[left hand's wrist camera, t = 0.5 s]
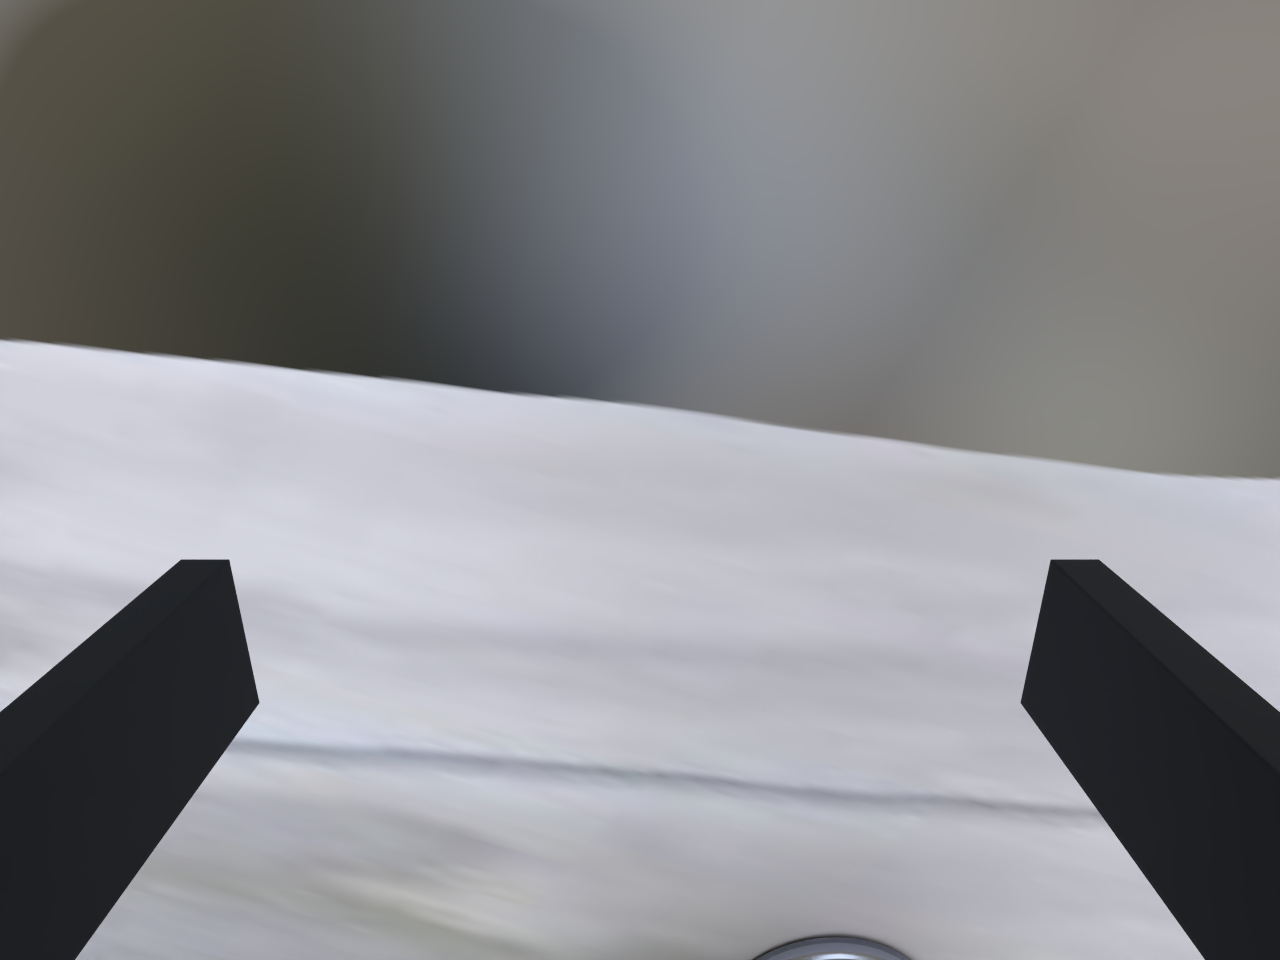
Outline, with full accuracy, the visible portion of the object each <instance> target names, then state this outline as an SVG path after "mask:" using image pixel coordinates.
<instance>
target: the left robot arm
mask: <svg viewBox="0 0 1280 960" xmlns="http://www.w3.org/2000/svg"><path fill="white" fill-rule="evenodd" d="M258 704H259V699H258V694H257V689H256V685H255V680H254V675H253V670H252V666H251V661H250V656H249V652H248V647H247V642H246V637H245V633H244V628H243V623H242V618H241V614H240V609H239V604H238V599H237V595H236V590H235V585H234V580H233V576H232V571H231V566H230V561H229V560H180V561H179V562H178V563H177V564H175V565H174V566H173V567H172V568H171V569H170V570H168V571H167V572H166V573H165V574H164V575H162V576H161V577H160V578H159V579H158V580H156V581H155V582H154V583H153V584H152V585H151V586H149V587H148V588H147V589H146V590H145V591H143V592H142V593H141V594H140V595H139V596H137V597H136V598H135V599H134V600H133V601H132V602H130V603H129V604H128V605H127V606H126V607H124V608H123V609H122V610H121V611H120V612H119V613H117V614H116V615H115V616H114V617H113V618H111V619H110V620H109V621H108V622H107V623H105V624H104V625H103V626H102V627H101V628H100V629H98V630H97V631H96V632H95V633H94V634H92V635H91V636H90V637H89V638H88V639H86V640H85V641H84V642H83V643H82V644H81V645H79V646H78V647H77V648H76V649H75V650H73V651H72V652H71V653H70V654H69V655H68V656H66V657H65V658H64V659H63V660H62V661H60V662H59V663H58V664H57V665H56V666H54V667H53V668H52V669H51V670H50V671H49V672H47V673H46V674H45V675H44V676H43V677H41V678H40V679H39V680H38V681H37V682H36V683H34V684H33V685H32V686H31V687H30V688H28V689H27V690H26V691H25V692H24V693H22V694H21V695H20V696H19V697H18V698H17V699H15V700H14V701H13V702H12V703H11V704H9V705H8V706H7V707H6V708H5V709H3V710H2V711H1V712H0V960H75V959H76V957H77V956H78V955H79V953H80V952H81V950H82V949H83V948H84V946H85V945H86V943H87V942H88V941H89V939H90V938H91V937H92V935H93V934H94V932H95V931H96V930H97V928H98V927H99V925H100V924H101V923H102V921H103V920H104V918H105V917H106V916H107V914H108V913H109V911H110V910H111V909H112V907H113V906H114V905H115V903H116V902H117V900H118V899H119V898H120V896H121V895H122V893H123V892H124V891H125V889H126V888H127V886H128V885H129V884H130V882H131V881H132V879H133V878H134V877H135V875H136V874H137V872H138V871H139V870H140V868H141V867H142V866H143V864H144V863H145V861H146V860H147V859H148V857H149V856H150V854H151V853H152V852H153V850H154V849H155V847H156V846H157V845H158V843H159V842H160V840H161V839H162V838H163V836H164V835H165V833H166V832H167V831H168V829H169V828H170V827H171V825H172V824H173V822H174V821H175V820H176V818H177V817H178V815H179V814H180V813H181V811H182V810H183V808H184V807H185V806H186V804H187V803H188V801H189V800H190V799H191V797H192V796H193V794H194V793H195V792H196V790H197V789H198V788H199V786H200V785H201V783H202V782H203V781H204V779H205V778H206V776H207V775H208V774H209V772H210V771H211V769H212V768H213V767H214V765H215V764H216V762H217V761H218V760H219V758H220V757H221V756H222V754H223V753H224V751H225V750H226V749H227V747H228V746H229V744H230V743H231V742H232V740H233V739H234V737H235V736H236V735H237V733H238V732H239V730H240V729H241V728H242V726H243V725H244V723H245V722H246V721H247V719H248V718H249V717H250V715H251V714H252V712H253V711H254V710H255V708H256V707H257V705H258ZM1021 704H1022V705H1023V707H1024V708H1025V710H1026V711H1027V712H1028V714H1029V715H1030V717H1031V718H1032V719H1033V721H1034V722H1035V723H1036V725H1037V726H1038V728H1039V729H1040V730H1041V732H1042V733H1043V735H1044V736H1045V737H1046V739H1047V740H1048V742H1049V743H1050V744H1051V746H1052V747H1053V749H1054V750H1055V751H1056V753H1057V754H1058V756H1059V757H1060V758H1061V760H1062V761H1063V762H1064V764H1065V765H1066V767H1067V768H1068V769H1069V771H1070V772H1071V774H1072V775H1073V776H1074V778H1075V779H1076V781H1077V782H1078V783H1079V785H1080V786H1081V788H1082V789H1083V790H1084V792H1085V793H1086V794H1087V796H1088V797H1089V799H1090V800H1091V801H1092V803H1093V804H1094V806H1095V807H1096V808H1097V810H1098V811H1099V813H1100V814H1101V815H1102V817H1103V818H1104V820H1105V821H1106V822H1107V824H1108V825H1109V827H1110V828H1111V829H1112V831H1113V832H1114V833H1115V835H1116V836H1117V838H1118V839H1119V840H1120V842H1121V843H1122V845H1123V846H1124V847H1125V849H1126V850H1127V852H1128V853H1129V854H1130V856H1131V857H1132V859H1133V860H1134V861H1135V863H1136V864H1137V866H1138V867H1139V868H1140V870H1141V871H1142V872H1143V874H1144V875H1145V877H1146V878H1147V879H1148V881H1149V882H1150V884H1151V885H1152V886H1153V888H1154V889H1155V891H1156V892H1157V893H1158V895H1159V896H1160V898H1161V899H1162V900H1163V902H1164V903H1165V905H1166V906H1167V907H1168V909H1169V910H1170V911H1171V913H1172V914H1173V916H1174V917H1175V918H1176V920H1177V921H1178V923H1179V924H1180V925H1181V927H1182V928H1183V930H1184V931H1185V932H1186V934H1187V935H1188V937H1189V938H1190V939H1191V941H1192V942H1193V943H1194V945H1195V946H1196V948H1197V949H1198V950H1199V952H1200V953H1201V955H1202V956H1203V957H1204V959H1205V960H1280V712H1279V711H1278V710H1277V709H1275V708H1274V707H1273V706H1272V705H1271V704H1269V703H1268V702H1267V701H1266V700H1265V699H1263V698H1262V697H1261V696H1260V695H1259V694H1258V693H1256V692H1255V691H1254V690H1253V689H1252V688H1250V687H1249V686H1248V685H1247V684H1246V683H1244V682H1243V681H1242V680H1241V679H1240V678H1239V677H1237V676H1236V675H1235V674H1234V673H1233V672H1231V671H1230V670H1229V669H1228V668H1227V667H1226V666H1224V665H1223V664H1222V663H1221V662H1220V661H1218V660H1217V659H1216V658H1215V657H1214V656H1212V655H1211V654H1210V653H1209V652H1208V651H1207V650H1205V649H1204V648H1203V647H1202V646H1201V645H1199V644H1198V643H1197V642H1196V641H1195V640H1194V639H1192V638H1191V637H1190V636H1189V635H1188V634H1186V633H1185V632H1184V631H1183V630H1182V629H1180V628H1179V627H1178V626H1177V625H1176V624H1175V623H1173V622H1172V621H1171V620H1170V619H1169V618H1167V617H1166V616H1165V615H1164V614H1163V613H1161V612H1160V611H1159V610H1158V609H1157V608H1156V607H1154V606H1153V605H1152V604H1151V603H1150V602H1148V601H1147V600H1146V599H1145V598H1144V597H1143V596H1141V595H1140V594H1139V593H1138V592H1137V591H1135V590H1134V589H1133V588H1132V587H1131V586H1129V585H1128V584H1127V583H1126V582H1125V581H1124V580H1122V579H1121V578H1120V577H1119V576H1118V575H1116V574H1115V573H1114V572H1113V571H1112V570H1110V569H1109V568H1108V567H1107V566H1106V565H1105V564H1103V563H1102V562H1101V561H1100V560H1051V561H1050V566H1049V571H1048V576H1047V580H1046V585H1045V590H1044V595H1043V599H1042V604H1041V609H1040V614H1039V618H1038V623H1037V628H1036V633H1035V637H1034V642H1033V647H1032V652H1031V656H1030V661H1029V666H1028V670H1027V675H1026V680H1025V685H1024V689H1023V694H1022V699H1021ZM756 960H909V959H908V958H907V957H905V956H904V955H902V954H900V953H899V952H897V951H895V950H893V949H891V948H889V947H886V946H884V945H881V944H878V943H875V942H871V941H867V940H862V939H855V938H846V937H825V938H815V939H809V940H803V941H799V942H795V943H791V944H788V945H785V946H782V947H780V948H777V949H775V950H773V951H771V952H769V953H767V954H765V955H763V956H761V957H760V958H758V959H756Z"/></svg>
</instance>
